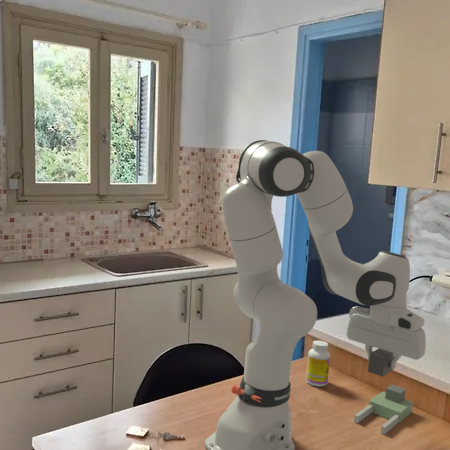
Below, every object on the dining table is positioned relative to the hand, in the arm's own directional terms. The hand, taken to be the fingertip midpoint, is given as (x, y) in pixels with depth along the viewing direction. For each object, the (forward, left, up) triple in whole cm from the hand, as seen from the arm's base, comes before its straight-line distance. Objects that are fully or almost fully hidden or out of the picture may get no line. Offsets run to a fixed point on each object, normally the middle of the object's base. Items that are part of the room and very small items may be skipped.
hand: (381, 364), depth 135 cm
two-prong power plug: (+5, 0, -16) cm, 17 cm away
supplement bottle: (+10, +24, -17) cm, 31 cm away
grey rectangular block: (0, 0, -2) cm, 2 cm away
